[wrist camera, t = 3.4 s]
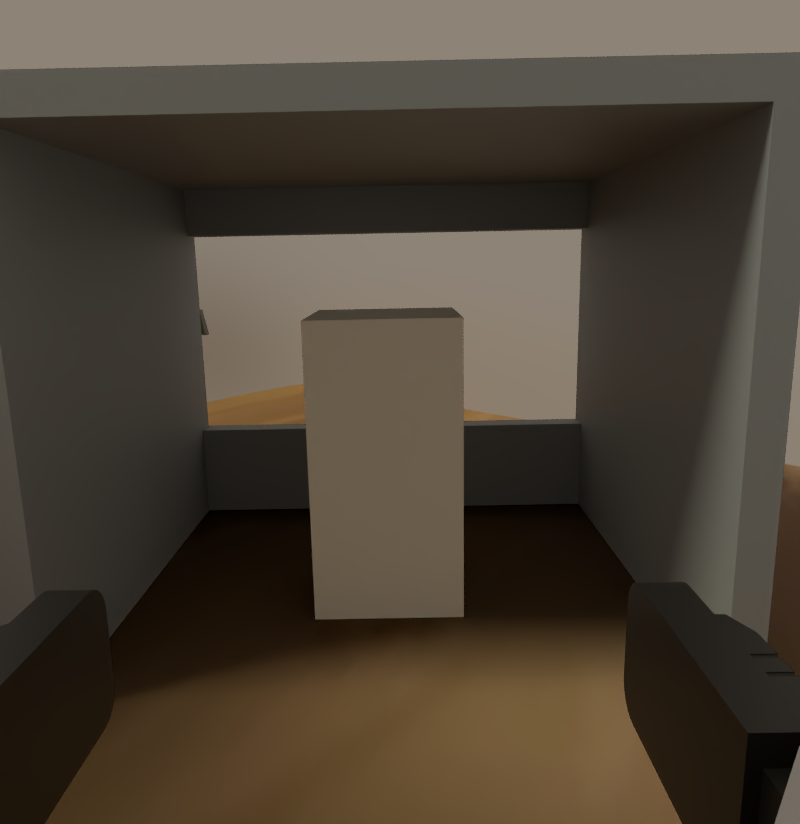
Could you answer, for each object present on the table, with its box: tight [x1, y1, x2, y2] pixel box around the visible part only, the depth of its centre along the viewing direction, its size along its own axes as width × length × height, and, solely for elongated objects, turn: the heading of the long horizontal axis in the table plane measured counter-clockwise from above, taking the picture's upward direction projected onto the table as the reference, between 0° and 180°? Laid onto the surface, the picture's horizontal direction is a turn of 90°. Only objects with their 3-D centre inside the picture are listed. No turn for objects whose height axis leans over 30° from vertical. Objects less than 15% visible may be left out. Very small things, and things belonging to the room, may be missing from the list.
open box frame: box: [0, 52, 800, 642], centre depth 26 cm, size 20×17×16 cm
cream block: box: [301, 308, 464, 619], centre depth 25 cm, size 5×5×10 cm
